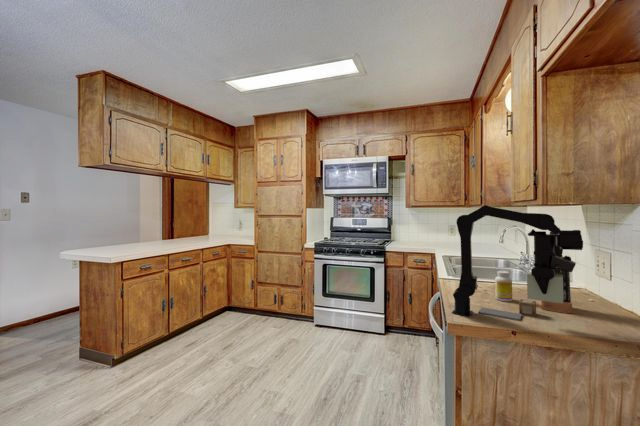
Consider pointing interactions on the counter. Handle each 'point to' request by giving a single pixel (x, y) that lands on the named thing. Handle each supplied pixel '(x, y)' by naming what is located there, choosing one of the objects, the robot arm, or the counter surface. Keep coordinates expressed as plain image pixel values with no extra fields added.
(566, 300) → the whiskey bottle
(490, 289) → the counter surface
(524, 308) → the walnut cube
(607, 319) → the counter surface
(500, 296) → the supplement bottle
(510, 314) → the charcoal mat
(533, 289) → the grey-green rectangular block
